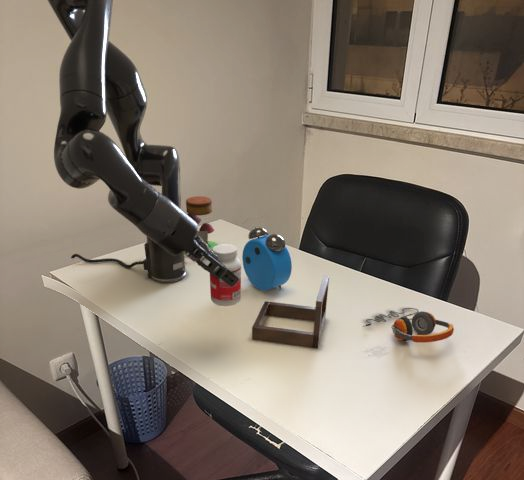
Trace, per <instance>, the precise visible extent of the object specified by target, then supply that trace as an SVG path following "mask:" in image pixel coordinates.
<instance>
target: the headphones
mask: <svg viewBox="0 0 524 480" xmlns="http://www.w3.org/2000/svg"><path fill="white" fill-rule="evenodd" d="M405 310H416V312H413V313H408V314H406V315H403V316H400V315H401V314H404V313H405ZM411 316H412V318H409V317H411ZM392 317H394V318H396V320H394V322H393V324H392V325H391V327H390V328H391V330H392V333H393V335H394V337H395V338H396V339H397V340H399V341H403V342H410V341H411V342H413V343H433V342H439V341H442V340H445V339H448V338H450V337H451V336H453V335H454V330H455V328H454V324H453V323H451V322H448V321H444V320H440V319H436V318H435V316H434V314H432V313H430V312H428V311H420V310H419V309H418V308H415V307H404V308H402V312H398V311H397V312H396V311H393V310H390V311H389V314H387V315H386V314H378V315H375V316H374V318H367V319H365V322H366V323H367V324H364V325H362V328H364V327H365V328H366V327H370V326H371V325H372V324H373V323H372V321H374V322H376V323H380V322H384V323H386V322H387V320H386V319H385V318H388V319H392ZM370 321H371V322H370ZM436 325H437V326H441V327H445V328H447V329H445V330H443V331H440V332H437V333H433V332H434V330H435V327H436ZM414 331H415V332H416V334H413V333H414ZM431 333H432V334H431Z"/></svg>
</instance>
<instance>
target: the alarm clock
mask: <svg viewBox="0 0 524 480" xmlns="http://www.w3.org/2000/svg"><path fill="white" fill-rule="evenodd" d="M247 238H248V241H247V242H246V243H245V245H244V247H243V249H242V256H241V257H242V267H243V270H244V273H245V275H246V277H247V279H248V280H249V282H250V283H251V285H252V286H253V287H254V288H256V289H257V290H260V291H265V292H266V291H269V290H272V289H276V288H279V290H282V285H285V284H286V283H287V282H288V281H289V280H290V277H291V275H292V270H293V269H292V268H293V265H292V257H291V254H290V252H289V249H288V247H287V245H286V241H285V239H284V238H283V236H281V235H279V234H278V233H272V234H269V232H268V231H267V229H265V228H263V227H259V226H258V227H257V226H255V227H254V228H253V229H251V230H250V231H249V233H248V236H247Z"/></svg>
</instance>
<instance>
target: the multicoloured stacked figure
mask: <svg viewBox="0 0 524 480" xmlns="http://www.w3.org/2000/svg"><path fill="white" fill-rule="evenodd" d="M212 201H213V200H212V199H211V198H210V197H208V196H202V195H199V196H190V197H187V198H186V199H185V206H186V210H185V211H186V214H187V215H188V216H190V217H191V218H192V219H193V220H194V221H195V222H196V223H197V225H198V226H199V224H200V223H201V222H202V218H200V217H199V216H206V215H209V214H212V212H213V202H212ZM199 227H200V228H198V230H197V234H196V236H197V235H198V236H199V237H200V238H201V239H202V240H203V241H204V242H205V243H206V244H207V245H208V246H209V247H210V250H213V247H214V246H216V245H218V244H217V243H216V242H213V241H210V240H209V241H208V239H209V235H210V234H212V233H214V232H215V228H214V227H213V226H212V225H211V224H210V223H208V222H204V223H202V224H201V226H199ZM208 234H209V235H208Z"/></svg>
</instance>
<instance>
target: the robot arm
mask: <svg viewBox="0 0 524 480" xmlns="http://www.w3.org/2000/svg"><path fill="white" fill-rule="evenodd" d="M47 3H48V5H50V7H51V9H52V11H53V13H54V14H55V16H56V19H58V21H59V23H60V24H61V26H62V28H63V29H64V31H65V33H66V34H67V37H68V38H69V40H70V43H69V44H68V46H67V47H66V50H65V51H64V54H63V57H62V60H61V63H60V67H59V74H58V75H59V76H58V77H59V79H58V80H59V81H58V84H59V107H60V112H59V118H58V121H57V125H56V133H55V138H54V145H53V146H54V147H53V161H54V166H55V170H56V172H57V174H58V176H59V177H60V179H61V180H62V181H63V183H65V184H66V185H68V186H69V187H71V188H74V189H78V190H79V189H86V188H89V187H91V186H92V185H94V184H96V183H97V182H99V181H100V180H101V181H102V182H103V183H104V184H105V185H106V186H107V187H108V189H109V192H108V195H107V203H108V204H109V205H110V207H111V208H112V209H113V210H114V211H116V212H117V213H118V214H120V215H121V216H122V217H123V218H124V219H126V220H127V221H129V222H130V223H131V224H133V225H134V226H135V227H136V228H137V229H138V230H139V231H140V232H141V233H142V234H143V235H145V236H146V242H145V243H144V244H143V246H144V247H143V248H144V255H145V258H144V259H143V260H139V261H134V262H132V263H131V264H127V263H125V262H123V261H122V260H120V259H118V258H110V257H109V258H98V259H96V258H95V259H88V258H85V257H83V256H82V255H81V254H78V253H74V254H72V255H71V257H70V259H75V258H78V259H79V260H81V261H83V262H86V263H90V264H91V263H92V264H93V263H105V262H114V263H118V264H120V265H121V266H122V267H125V268H127V269H131V268H133V267H135V266H139V265H142V266H143V267H142V268H143V271H147V278H148V279H152V280H153V281H155V282H158V283H174V282H178V281H180V280H183V279H184V278H185V277H187V271H186V260H185V254H186V256H187V258H188V259H190V260H191V261H192V262H195V263H196V264H197V265H198V266H199V267H200V268H202V269H203V270H204V271H206V272H207V273H209V275H210V274H212V275H213V276H214V277H215V278H216V279H218V280H219V279H220V278H221V279H222V280H223V281H224V282H226V283H227V284H228V285H229V286H231V287H232V286H234V285H235V284H236V283H237V281H238V280H239V278H238V277H237V276H236V275H235V274H233V273H232V272H231V271H230V270H229V269H227V268H226V266H225V265H223V264H222V263H221V262H220V261H219V260H218V256H217V255H216V254H215V253H214V252H213V250H210V247H209V246H208V245H207V244H206V243H205V242H204V241H203V240H202V239H201V238H200V237H199V236H198V235H197V236H196V234H197V231H199V227H198V226H199V224H198V225H197V223H196V222H195V221H194V220H193V219H192V218H191V217H190V216H188V215H187V214H188V213H187V212H185V211H184V210H183V209H182V208H181V205H182V191H181V189H182V187H181V162H180V161H181V160H180V157H179V156H180V155H179V153H178V150H177V149H176V147H174V146H171V145H163V144H162V145H161V144H148V143H146V142H145V141H144V139H143V137H142V134H141V126H142V123H143V120H144V118H145V115H146V111H147V108H148V96H147V93H146V89H145V86H144V84H143V81H142V79H141V77H140V73H139V71H138V68H137V66H136V65H135V64H134V62H133V61H132V59H131V58H129V57H128V56H127V54H126V53H124V52H123V51H122V50H121V49H120V48H119V47H117V46H116V45H115V44H114V43H113V42H111V41H110V40H109V39H110V32H111V24H112V14H113V5H114V0H47ZM107 117H108V118H109V120H110V123H111V125H112V126H113V129H114V131H115V133H116V135H117V138H118V140H119V142H120V145H121V148H122V150H121V148H120V147H119V146H118V144H117V143H116V142H115V141H114V140H113V139H112V138H111V137H110V136H108V135H107V134H105V133H104V132H103V131H102V132H101V129H102V128H103V126H104V125H105V123H106V120H107ZM155 187H161V192H160V191H158V190H157V189H156V188H155ZM217 266H219V268H218V269H217V270H216V271H214V270H215V269H216V267H217Z"/></svg>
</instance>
